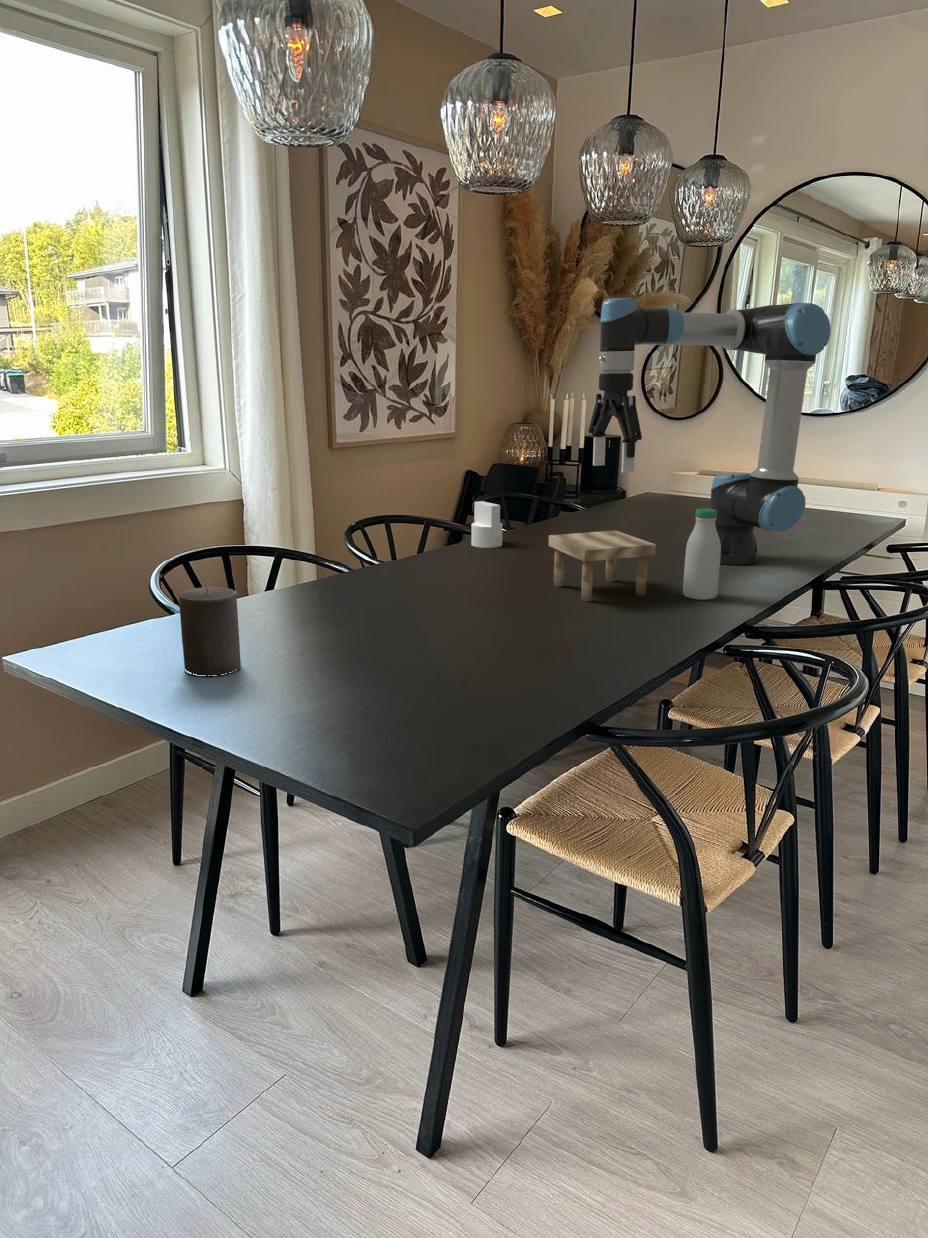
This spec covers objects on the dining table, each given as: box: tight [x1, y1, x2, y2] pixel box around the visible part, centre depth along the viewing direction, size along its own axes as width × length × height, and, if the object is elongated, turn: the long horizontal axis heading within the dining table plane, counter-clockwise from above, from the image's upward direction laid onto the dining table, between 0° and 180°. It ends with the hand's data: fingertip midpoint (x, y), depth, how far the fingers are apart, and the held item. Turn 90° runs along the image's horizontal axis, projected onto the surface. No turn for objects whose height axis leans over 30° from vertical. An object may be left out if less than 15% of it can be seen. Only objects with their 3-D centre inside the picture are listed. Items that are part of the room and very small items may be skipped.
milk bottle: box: [682, 507, 721, 601], centre depth 200 cm, size 8×8×20 cm
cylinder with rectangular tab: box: [470, 500, 503, 549], centre depth 257 cm, size 9×9×12 cm
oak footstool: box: [548, 530, 657, 603], centre depth 207 cm, size 18×18×12 cm
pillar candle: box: [178, 585, 242, 676], centre depth 155 cm, size 10×10×15 cm
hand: (612, 468), depth 203 cm, fingers open, 13 cm apart
